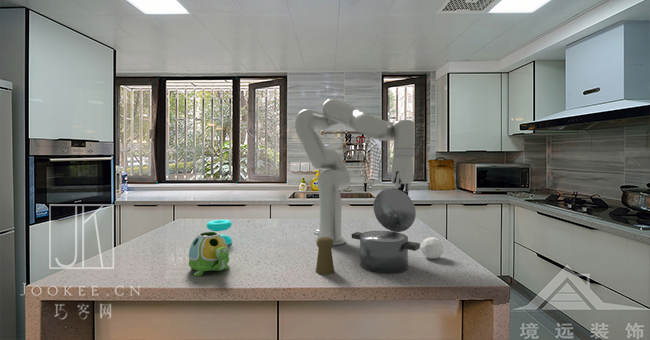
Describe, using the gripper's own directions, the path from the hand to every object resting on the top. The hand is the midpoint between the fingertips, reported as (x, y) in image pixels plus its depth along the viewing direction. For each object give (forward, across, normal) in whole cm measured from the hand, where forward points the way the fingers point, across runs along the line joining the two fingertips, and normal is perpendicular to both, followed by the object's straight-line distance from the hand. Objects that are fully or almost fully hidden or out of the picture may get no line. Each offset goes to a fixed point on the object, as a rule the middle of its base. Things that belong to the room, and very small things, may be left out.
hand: (403, 201), depth 115 cm
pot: (+20, +15, 0) cm, 25 cm away
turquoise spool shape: (+20, +37, -66) cm, 78 cm away
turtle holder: (+20, +55, -41) cm, 72 cm away
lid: (+2, +8, 0) cm, 9 cm away
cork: (+20, +32, -12) cm, 40 cm away
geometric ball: (+20, -3, +10) cm, 23 cm away
